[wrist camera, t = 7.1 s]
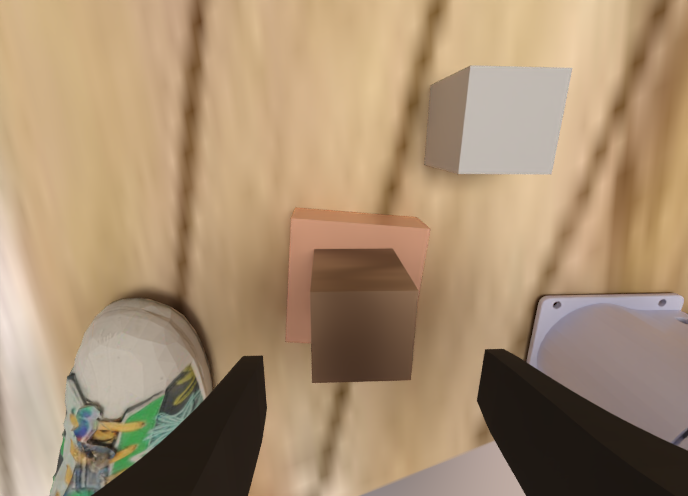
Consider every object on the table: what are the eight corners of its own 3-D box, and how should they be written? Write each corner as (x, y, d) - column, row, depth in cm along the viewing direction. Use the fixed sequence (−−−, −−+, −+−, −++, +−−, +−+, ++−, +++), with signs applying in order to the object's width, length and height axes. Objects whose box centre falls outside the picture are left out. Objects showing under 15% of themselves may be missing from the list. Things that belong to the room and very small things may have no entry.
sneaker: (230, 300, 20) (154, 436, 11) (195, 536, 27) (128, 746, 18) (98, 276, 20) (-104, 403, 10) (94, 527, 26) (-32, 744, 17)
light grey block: (505, 86, 18) (572, 68, 13) (494, 165, 19) (551, 174, 14) (430, 85, 17) (470, 65, 13) (423, 164, 19) (458, 173, 14)
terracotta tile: (415, 215, 20) (430, 228, 17) (398, 320, 22) (409, 347, 19) (295, 206, 19) (290, 218, 16) (290, 314, 21) (285, 342, 19)
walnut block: (392, 248, 17) (418, 290, 12) (388, 317, 18) (410, 380, 14) (314, 248, 17) (309, 291, 12) (315, 319, 18) (312, 382, 14)
